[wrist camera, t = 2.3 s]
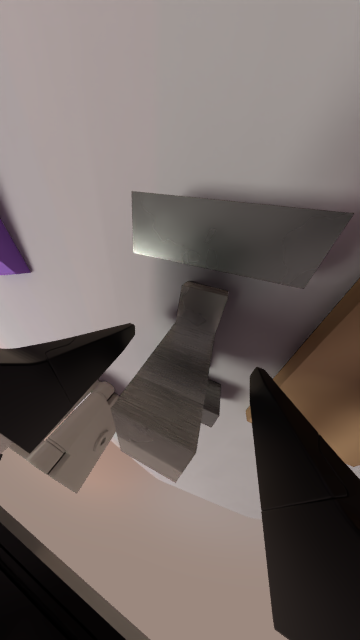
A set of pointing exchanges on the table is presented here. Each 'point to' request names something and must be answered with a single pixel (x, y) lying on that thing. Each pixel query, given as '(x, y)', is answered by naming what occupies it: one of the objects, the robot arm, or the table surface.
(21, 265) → the bracket
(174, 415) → the grey flared bar
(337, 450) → the walnut pad
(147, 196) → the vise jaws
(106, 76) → the table surface
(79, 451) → the hinge
